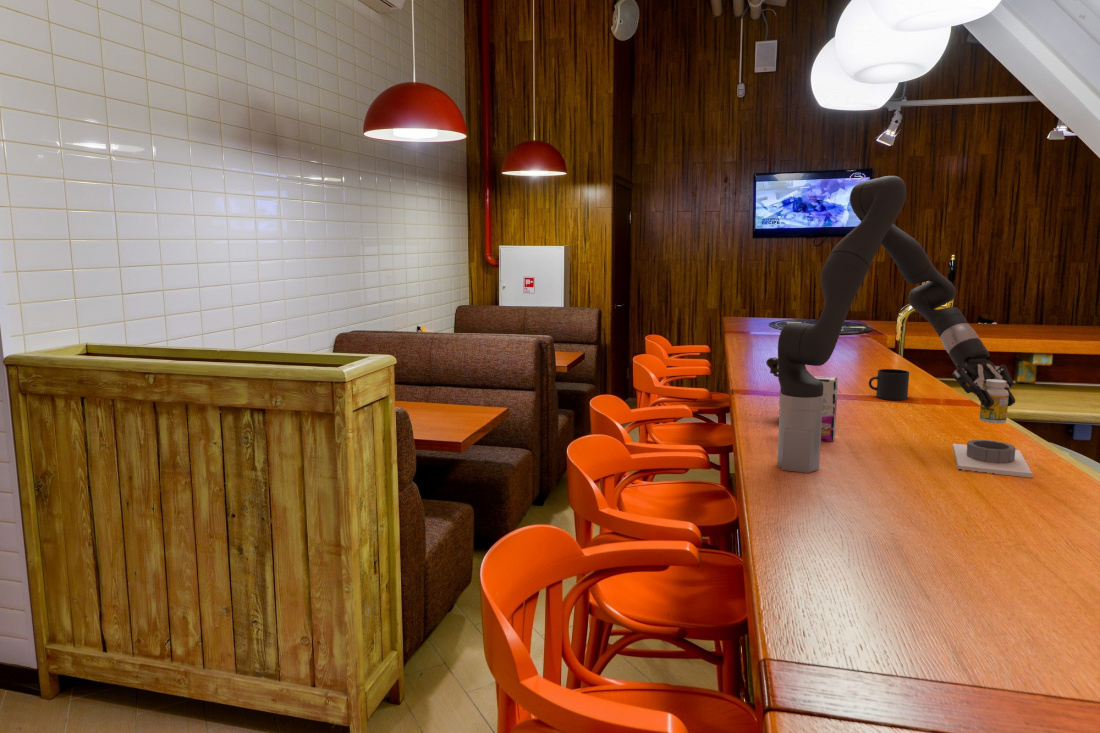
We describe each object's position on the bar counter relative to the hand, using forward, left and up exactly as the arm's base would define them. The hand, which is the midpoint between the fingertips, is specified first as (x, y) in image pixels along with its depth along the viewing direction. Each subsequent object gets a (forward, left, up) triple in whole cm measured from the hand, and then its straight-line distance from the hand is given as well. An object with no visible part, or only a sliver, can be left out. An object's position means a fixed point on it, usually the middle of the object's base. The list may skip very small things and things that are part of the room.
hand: (1000, 404), depth 164 cm
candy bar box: (+7, +41, -14) cm, 44 cm away
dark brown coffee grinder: (+24, +49, -14) cm, 57 cm away
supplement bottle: (+1, +1, -4) cm, 5 cm away
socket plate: (+1, +1, -14) cm, 14 cm away
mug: (+70, +24, -14) cm, 76 cm away
